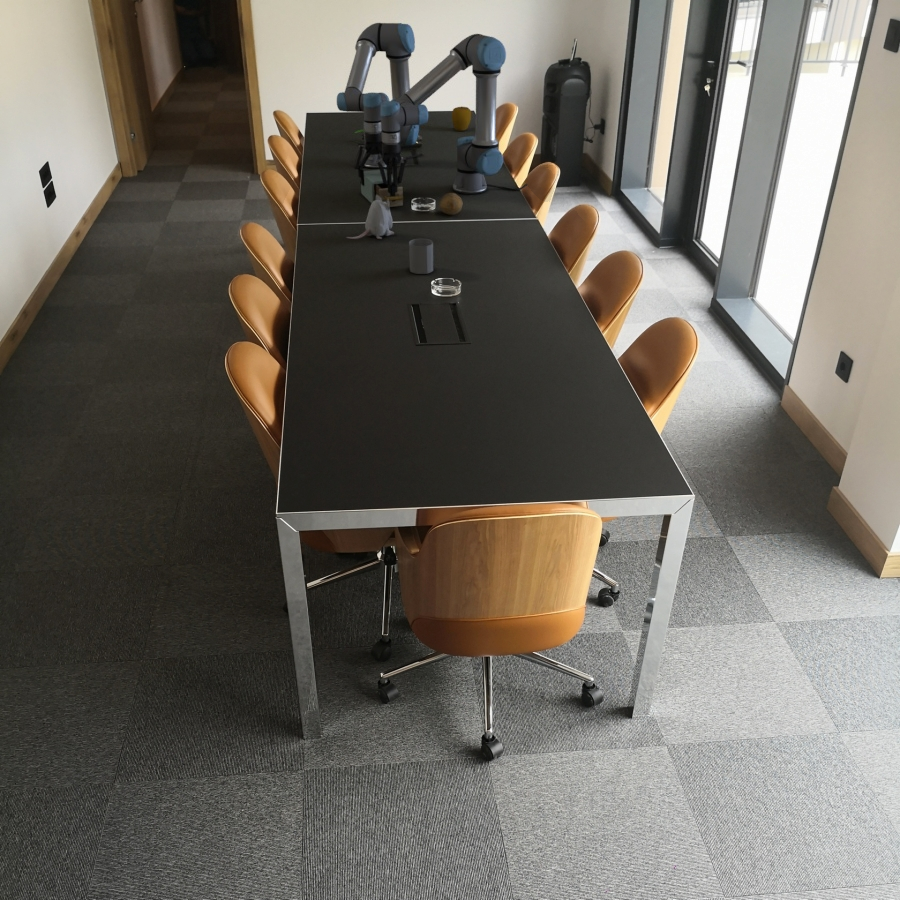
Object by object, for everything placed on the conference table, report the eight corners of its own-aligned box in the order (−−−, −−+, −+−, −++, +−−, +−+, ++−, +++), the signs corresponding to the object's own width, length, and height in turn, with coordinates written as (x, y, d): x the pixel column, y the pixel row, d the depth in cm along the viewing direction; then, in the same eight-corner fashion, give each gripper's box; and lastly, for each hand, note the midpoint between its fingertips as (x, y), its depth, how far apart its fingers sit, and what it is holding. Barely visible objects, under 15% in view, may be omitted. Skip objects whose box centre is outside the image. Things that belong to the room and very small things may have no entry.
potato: (461, 208, 368) (461, 189, 364) (463, 218, 357) (464, 199, 352) (438, 208, 368) (438, 190, 364) (440, 219, 356) (440, 199, 352)
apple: (471, 132, 486) (471, 108, 479) (451, 132, 486) (451, 108, 479) (470, 128, 495) (471, 104, 488) (452, 128, 495) (452, 104, 488)
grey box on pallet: (397, 201, 377) (397, 179, 372) (372, 204, 373) (371, 181, 368) (385, 190, 390) (385, 169, 385) (361, 193, 387) (360, 171, 382)
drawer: (407, 208, 365) (406, 190, 361) (383, 211, 362) (383, 193, 358) (391, 195, 382) (390, 177, 378) (369, 197, 379) (368, 179, 374)
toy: (399, 234, 340) (398, 196, 332) (354, 249, 326) (352, 209, 317) (384, 229, 345) (382, 191, 337) (338, 243, 331) (336, 204, 323)
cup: (409, 265, 311) (408, 238, 306) (432, 265, 312) (431, 238, 307) (410, 274, 304) (409, 246, 299) (433, 273, 305) (433, 246, 299)
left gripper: (349, 136, 364) (352, 188, 376) (402, 131, 372) (404, 182, 383) (344, 132, 370) (347, 183, 382) (397, 127, 378) (398, 178, 389)
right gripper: (378, 146, 346) (380, 204, 359) (409, 143, 350) (410, 201, 363) (373, 141, 352) (375, 199, 365) (403, 139, 356) (404, 196, 369)
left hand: (375, 183), depth 383 cm, fingers closed on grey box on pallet, 11 cm apart
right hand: (392, 200), depth 364 cm, fingers closed
